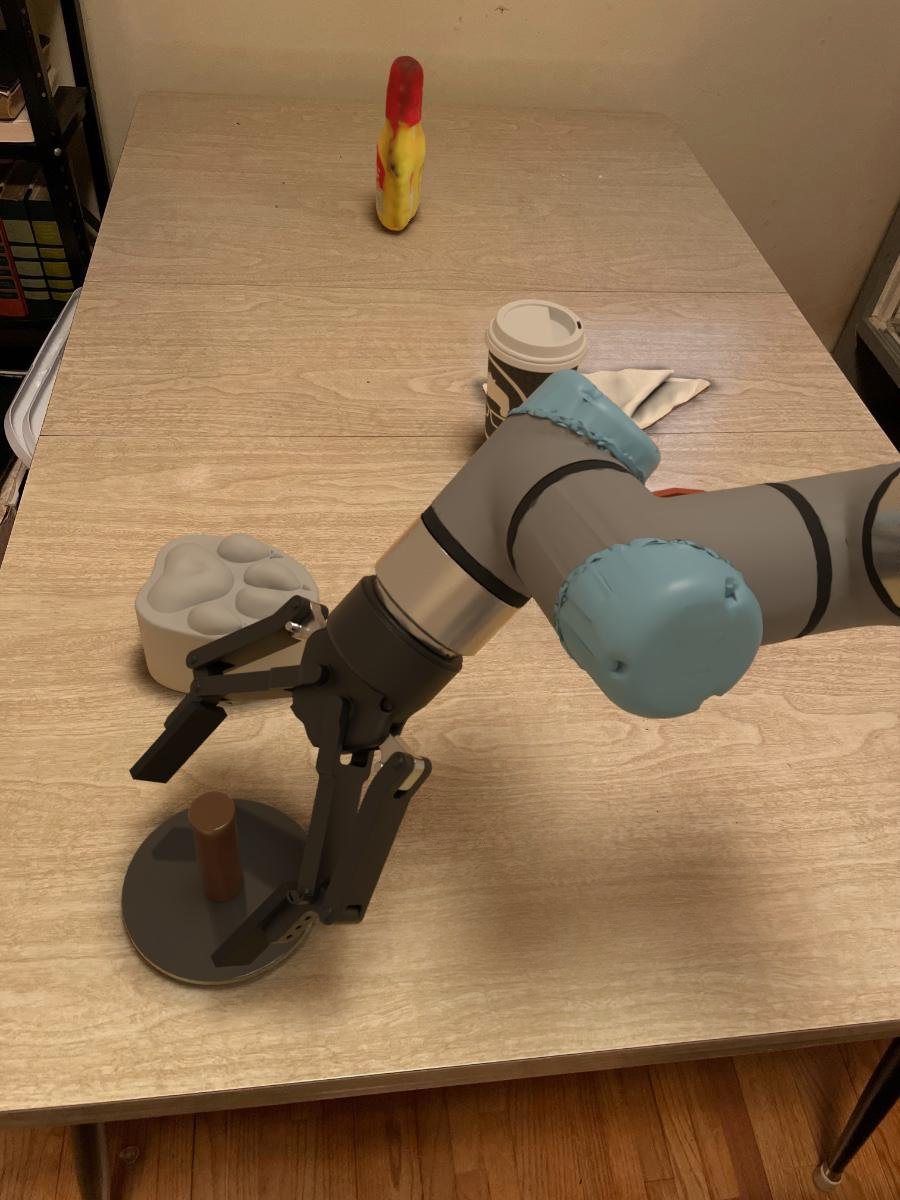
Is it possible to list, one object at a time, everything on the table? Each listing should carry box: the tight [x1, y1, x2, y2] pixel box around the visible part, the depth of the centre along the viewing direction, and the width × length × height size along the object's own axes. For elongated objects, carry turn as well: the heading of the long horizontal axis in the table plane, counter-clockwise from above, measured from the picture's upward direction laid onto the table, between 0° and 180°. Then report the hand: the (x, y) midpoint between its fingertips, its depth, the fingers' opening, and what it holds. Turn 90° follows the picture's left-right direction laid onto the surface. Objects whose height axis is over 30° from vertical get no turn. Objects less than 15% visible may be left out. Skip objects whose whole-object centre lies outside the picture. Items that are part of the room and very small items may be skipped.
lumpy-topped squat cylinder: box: [134, 532, 320, 694], centre depth 74 cm, size 10×13×9 cm
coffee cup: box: [483, 298, 589, 443], centre depth 92 cm, size 10×10×15 cm
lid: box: [121, 791, 314, 986], centre depth 59 cm, size 13×13×10 cm
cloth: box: [482, 368, 711, 430], centre depth 104 cm, size 26×14×2 cm, turn 90°
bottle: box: [375, 55, 427, 232], centre depth 123 cm, size 12×6×20 cm, turn 173°
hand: (185, 863), depth 58 cm, fingers open, 13 cm apart
